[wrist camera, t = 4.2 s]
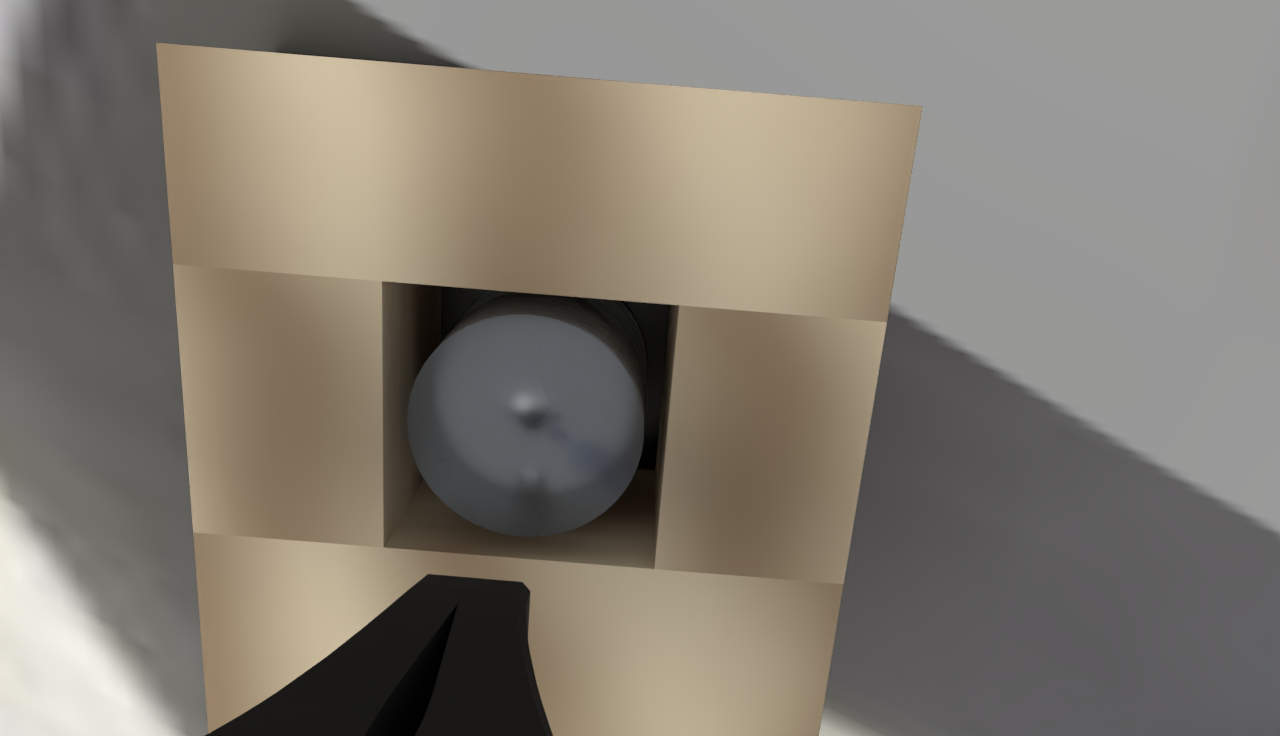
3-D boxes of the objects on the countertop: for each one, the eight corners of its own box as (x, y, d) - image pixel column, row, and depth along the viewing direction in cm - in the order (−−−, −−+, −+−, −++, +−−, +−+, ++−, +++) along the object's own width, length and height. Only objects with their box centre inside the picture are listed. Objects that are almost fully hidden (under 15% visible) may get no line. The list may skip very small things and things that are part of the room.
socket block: (861, 100, 19) (923, 105, 14) (732, 983, 26) (748, 1164, 21) (273, 52, 18) (156, 42, 14) (308, 951, 26) (238, 1125, 21)
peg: (654, 277, 19) (653, 325, 15) (639, 460, 21) (635, 546, 17) (456, 261, 19) (407, 304, 15) (453, 445, 21) (406, 527, 17)
